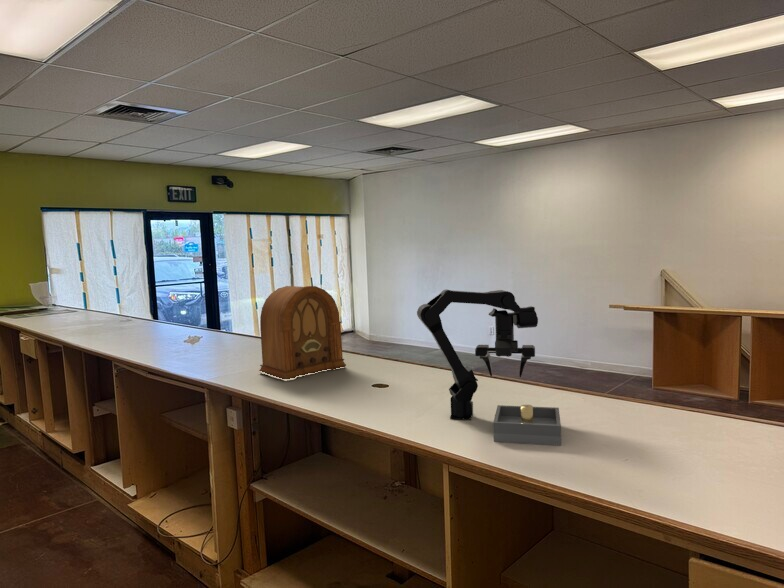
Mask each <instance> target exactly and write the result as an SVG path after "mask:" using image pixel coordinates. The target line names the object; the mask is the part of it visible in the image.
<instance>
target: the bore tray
mask: <svg viewBox="0 0 784 588" xmlns="http://www.w3.org/2000/svg"><path fill="white" fill-rule="evenodd" d="M492 424H493V425H492V426H493V427H492V429H493V430H492V431H493V442H495V443H509V444H510V443H511V444H512V443H513V444H527V445H528V444H529V445H543V446H562V425H561V415H560V408H559V407H555V406H553V407H552V406H533V423H521V405H506V404H505V405H503V404H502V405H500V404H497V407H496V411H495V415H494V419H493V423H492Z"/></svg>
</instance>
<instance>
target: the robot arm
mask: <svg viewBox="0 0 784 588" xmlns="http://www.w3.org/2000/svg"><path fill="white" fill-rule="evenodd" d="M452 303H454V304H455V303H457V304H470V305H471V304H473V305H486V306H491V307H493V309H492V310H491V311H490V312H488V315H489V316H490V317H494V319H495V321H494V322H495V341H494V347H490V345H489V344H478V345H477V346H476V347H475V349H474V350H475V353H474V354H475V355H474V356H475V357H479V359H481V360H483V361H484V363H485V365H486V367H487V370H488V372H489V375H490V377H493V365H492V359H491V354H495V356H496V357H507V358H509V357H512V355H513V354H515V355H517V354H521V357H520V367H519V378H522V375H523V373H524V372H523V371H524V369H525V365H526V363H527V361H528V360H531V359H532V358H534V357H536V347H535V346H534V345H533V344H522V345H521V347H519V342H518V341H519V340H516V339H515V335H514V334H515V333H514V330H515V329H514V326H515V327H516V328H517V329H529V328H536V327H538V324H539V317H538V314H537V312H536V307H534V306H532V305H531V306H526V307H524V306H523V307H521V306H520V305H519V304H518V303H517V302H516V297H515V295H514V294H513V292H512V291H508V290H502V289H498V290H491V291H490V290H489V291H485V292H484V291H483V292H481V291H465V290H464V291H463V290H451V289H443V290H442V291H441V292H440V293H439V294H438V295H436V296H435V297H433V298H432V299H430V300H429V301H428V302H427V303H423V304H421V305H420V306H419V307H418V309H417V311H416V315H417V318H418V319H419V320H420V322H421V323H422V324H423V326H425V328H426V329H427V331H429V332H430V334H431V335H432V337H433V338H434V340H435V342H436V344H437V346H438V347H439V350H440V351H441V353H442V355H443V358H444V359H445V360H446V362H447V364H448V366H449V368H450V370H451V375H452V378H453V381H454V383H453V384H451V386H450V387H449V388H448V391H449V393H450V396H451V397H450V415H449V418H450V420H466V421H468V420H469V421H470V420H471V418H472V417H473V415H474V401H472V399H473V396H474V394H475V393H476V392H477V390H478V387H479V384H478V381H479V379H478V378H476V377H475V374H474V371H473V369H472V368H470V367H469V365H466V366H464V364H463V362H462V360H461V359H460V357H459V356H458V354H457V352H456V350H455V347H454V346H453V345H452V343H451V341H450V339H449V337H448V335H447V334H446V332H445V329H444V328H443V323H442V320H441V319H442V318H441V316H440V315H441V314H442V313H443V312H444V311H445V310H446V309H447V308H448V306H449V305H450V304H452ZM496 308H498V309H500V310H498V309H496ZM501 309H502V310H501ZM507 310H508V311H512V312H508V311H507Z"/></svg>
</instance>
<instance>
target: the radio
mask: <svg viewBox="0 0 784 588" xmlns="http://www.w3.org/2000/svg"><path fill="white" fill-rule="evenodd" d="M338 308H339V307H338V305H337V303H336V301H335V298H333V296H332V295H331V294H330V293H328V292H327V291H326V289H323V288H320V287H318V286H315V285H306V286H292V285H286V286H282V287H279V288H277V289H275V290H274V291H273V292H271V293H270V294H269V295H268V296H267V298H266V299H265V300H264V303H263V305H262V307H261V310H260V311H261V312H260V325H259V326H260V343H261V360H262V364H259V366H260V368H259V370H258V372H259V371H262V372H265V373H267V374H270V375H273V376H276V377H279V378H282V379H290V378H295V377H296V376H299V375H305V374H308V373H315V372H318V371H322V370H327V369H336V368H340V367H345V368H346V366H347V364H346V363H345V362H344V360H345V358H343V345H342V329H341V328H342V326H341V324H342V321H340V311H339V309H338Z"/></svg>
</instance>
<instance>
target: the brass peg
mask: <svg viewBox="0 0 784 588" xmlns="http://www.w3.org/2000/svg"><path fill="white" fill-rule="evenodd" d="M520 406H521V423H533V407H534V406H533V405H532V404H521V405H520Z"/></svg>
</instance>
